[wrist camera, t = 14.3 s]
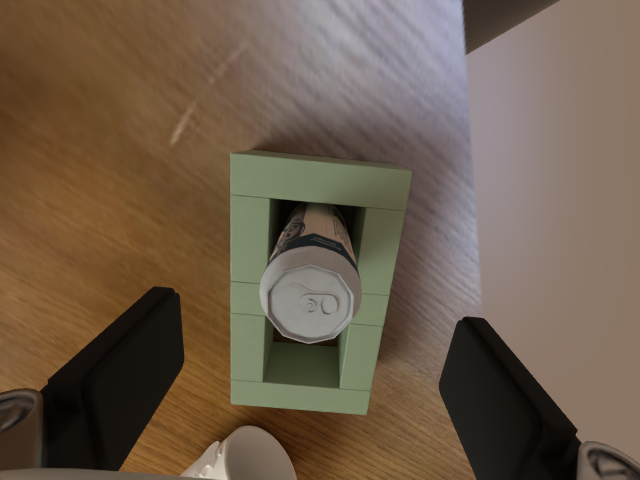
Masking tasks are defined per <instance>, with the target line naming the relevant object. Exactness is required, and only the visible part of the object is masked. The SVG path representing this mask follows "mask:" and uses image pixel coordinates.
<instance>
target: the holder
mask: <svg viewBox="0 0 640 480" xmlns="http://www.w3.org/2000/svg"><path fill="white" fill-rule="evenodd" d="M412 175H413V171H412V170H409V169H407V168H404V167H401V166H398V165H396V164H390V163H380V162H370V161H360V160H349V159H339V158H329V157H319V156H309V155H299V154H289V153H279V152H268V151H258V150H246V151H239V152H233V153H231V154H230V193H231V196H230V203H231V404H237V405H249V406H261V407H274V408H286V409H298V410H310V411H323V412H335V413H347V414H359V415H367V410H368V405H369V399H370V394H371V389H372V383H373V378H374V373H375V368H376V363H377V357H378V352H379V347H380V342H381V336H382V331H383V326H384V322H385V316H386V311H387V306H388V301H389V295H390V290H391V285H392V280H393V275H394V269H395V264H396V259H397V254H398V249H399V243H400V238H401V233H402V228H403V222H404V217H405V210H406V206H407V201H408V196H409V191H410V185H411V180H412ZM280 199H285V200H296V201H306V202H316V203H327V204H337V205H348V206H356V210H355V217H354V225H353V232H352V240H351V246H352V250H353V253H354V257H355V261H356V265H357V269H358V273H359V276H360V280H361V285H362V300H361V304H360V308H359V310H358V312H357V314H356V316H355V317H354V318H353V319H352V321H351V322H350V323H349V324H348V325H347V326H346V327H345V328H344V329H343V330H342V331H341V332H340V333H339V335H338V343H337V347H332V346H320V345H308V344H297V343H285V342H274V341H273V331H274V325H273V323H272V322H271V321H270V320H269V319H268V317H267V315H266V313H265V312H264V310H263V308H262V305H261V300H260V294H259V292H260V282H261V278H262V276H263V273H264V271H265V269H266V267H267V265H268V262H269V260H270V258H271V256H272V253H273V251H274V249H275V247H276V244H277V242H278V235H279V216H280Z"/></svg>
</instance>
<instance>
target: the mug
mask: <svg viewBox="0 0 640 480" xmlns="http://www.w3.org/2000/svg"><path fill="white" fill-rule="evenodd" d="M180 476H183V477H194V478H206V479H218V480H297V477H296V473H295V470H294V467H293V465H292V462H291V460H290V458H289V456H288V455H287V453H286V451H285V450H284V448H283V447H282V446H281V444H280V443H279V442H278V441H277V440H276V439H275V438H274V437H273V436H272V435H271V434H269V433H268V432H267V431H265V430H263V429H261V428H259V427H256V426H242V427H239V428H237V429H236V430H235V431H233V432H232V433H231V434H230V435H229V436H228V437H227V438H226V439H225V440H224V441H222V442H221V443H220V442H219V441H216V442H214V443H213V444H212V445H211V446H210V447H209V448H208V449H207V450H206V451H205V452H204V454H203V455H202V456H201V457H200V458H199V459H198V460H196V461H195V462H194V463H193V464H192V465H191V466H190V467H189V468H188V469H186V470H185V471H184V472H183V473H182V474H181V475H180Z"/></svg>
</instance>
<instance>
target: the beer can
mask: <svg viewBox="0 0 640 480" xmlns="http://www.w3.org/2000/svg"><path fill="white" fill-rule="evenodd" d="M259 294H260V300H261V305H262V308H263V310H264V312H265V313H266V315H267V317H268V319H269V320H270V321H271V322H272V323H273V325H274V326H275V327H276V328H277V329H278V331H279V332H280V333H281V334H282V336H285V337H288V338H291V339H294V340H297V341H300V342H303V343H307V344H311V343H315V342H320V341H324V340H329V339H333V338H335V337H336V336H337V335H338V334H339V333H340V332H341V331H342V330H343V329H344V328H345V327H346V326H347V325H348V324H349V323H350V322H351V321H352V319H353V318H354V317H355V316H356V314H357V312H358V310H359V308H360V304H361V300H362V285H361V280H360V276H359V273H358V269H357V265H356V261H355V257H354V253H353V250H352V246H351V242H350V238H349V234H348V230H347V227H346V223H345V220H344V218H343V215H342V214H341V213H340V211H339V210H338V209H337V208H336V207H335V206H333V205H332V204H327V203H316V202H304V203H302V204H300V205H298V206H297V207H296V208H295V209H294V210H293V211H292V212H291V214H290V216H289V218H288V220H287V222H286V224H285V226H284V229H283V231H282V233H281V235H280V238H279V240H278V242H277V244H276V247H275V249H274V251H273V253H272V256H271V258H270V260H269V262H268V265H267V267H266V269H265V271H264V273H263V276H262V278H261V282H260V292H259Z"/></svg>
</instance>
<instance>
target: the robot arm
mask: <svg viewBox="0 0 640 480" xmlns="http://www.w3.org/2000/svg"><path fill="white" fill-rule="evenodd" d="M183 363H184V346H183V333H182V320H181V307H180V296H179V294H178V293H175V291H174V289H173V288H166V287H153V288H151V289H150V290H149V291H148V292H147V293H146V294H144V295H143V296H142V297H141V298H140V299H139V300H138V301H137V302H135V303H134V304H133V305H132V306H131V307H130V308H129V309H127V310H126V311H125V312H124V313H123V314H122V315H121V316H120V317H118V318H117V319H116V320H115V321H114V322H113V323H112V324H111V325H109V326H108V327H107V328H106V329H105V330H104V331H103V332H101V333H100V334H99V335H98V336H97V337H96V338H95V339H94V340H92V341H91V342H90V343H89V344H88V345H87V346H86V347H85V348H83V349H82V350H81V351H80V352H79V353H78V354H77V355H75V356H74V357H73V358H72V359H71V360H70V361H69V362H68V363H66V364H65V365H64V366H63V367H62V368H61V369H60V370H59V371H57V372H56V373H55V374H54V375H53V376H52V377H51V378H49V379H48V384H47V385H46V386H45V387H44V388H43V389H42V390H41V391H37V390H35V389H29V388H23V389H14V390H10V391H6V392H2V393H0V480H218V479H206V478H194V477H183V476H171V475H159V474H148V473H134V472H119V471H118V470H119V469H120V467H121V466H122V464H123V463H124V461H125V459H126V458H127V456H128V455H129V453H130V451H131V450H132V448H133V446H134V445H135V443H136V442H137V440H138V438H139V437H140V435H141V434H142V432H143V430H144V429H145V427H146V425H147V424H148V422H149V421H150V419H151V417H152V416H153V414H154V413H155V411H156V409H157V408H158V406H159V404H160V403H161V401H162V400H163V398H164V396H165V395H166V393H167V392H168V390H169V388H170V387H171V385H172V384H173V382H174V380H175V379H176V377H177V375H178V374H179V372H180V371H181V369H182V367H183ZM439 391H440V394H441V397H442V399H443V401H444V404H445V406H446V408H447V411H448V413H449V415H450V418H451V420H452V423H453V425H454V427H455V430H456V432H457V434H458V437H459V439H460V441H461V444H462V446H463V448H464V451H465V453H466V455H467V458H468V460H469V462H470V465H471V467H472V469H473V472H474V474H475V477H476V479H477V480H640V464H639V463H638V462H636V461H635V460H634V459H633V458H631V457H629V456H627V455H626V454H624V453H623V452H621V451H619V450H617V449H615V448H613V447H611V446H609V445H606V444H603V443H599V442H595V441H586V442H584V443H581V442H580V441H579V439H578V438H577V437H576V436H575V435H576V433H577V431H578V430H577V429H576V428H575V426H574V425H573V424H572V423H571V421H570V420H569V419H568V418H567V417H566V415H565V414H564V413H563V412H562V411H561V409H560V408H559V407H558V406H557V405H556V403H555V402H554V401H553V400H552V399H551V397H550V396H549V395H548V394H547V393H546V391H545V390H544V389H543V388H542V387H541V385H540V384H539V383H538V382H537V381H536V379H535V378H534V377H533V376H532V375H531V374H530V372H529V371H528V370H527V369H526V368H525V366H524V365H523V364H522V363H521V362H520V360H519V359H518V358H517V357H516V355H515V354H514V353H513V352H512V351H511V350H510V348H509V347H508V346H507V345H506V344H505V342H504V341H503V340H502V339H501V338H500V336H499V335H498V334H497V333H496V332H495V331H494V329H493V328H492V327H491V326H490V324H489V323H488V322H487V321H486V320H485V319H484V318H477V317H467V316H466V317H464V318H463V319H462V320H459V321H458V322H457V324H456V328H455V331H454V334H453V338H452V341H451V344H450V348H449V351H448V354H447V358H446V361H445V364H444V368H443V371H442V375H441V378H440V381H439Z"/></svg>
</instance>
